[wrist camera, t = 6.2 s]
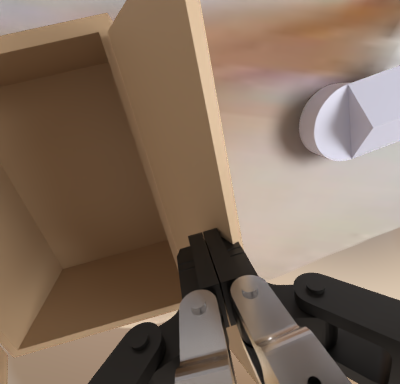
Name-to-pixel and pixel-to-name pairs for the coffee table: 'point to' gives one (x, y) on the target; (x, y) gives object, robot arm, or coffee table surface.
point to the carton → (75, 194)
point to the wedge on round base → (353, 117)
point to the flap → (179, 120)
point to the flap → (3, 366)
